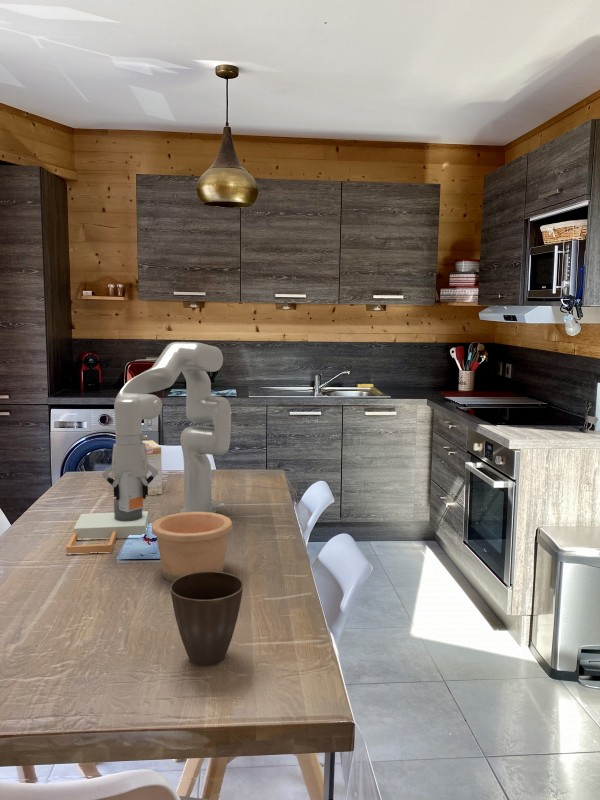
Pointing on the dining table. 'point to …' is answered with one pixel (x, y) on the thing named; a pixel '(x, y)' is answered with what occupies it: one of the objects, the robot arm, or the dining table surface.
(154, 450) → the coffeecake box
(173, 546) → the pottery
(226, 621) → the plant pot
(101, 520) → the slab with grey cylinder
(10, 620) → the dining table surface
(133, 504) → the skincare box
